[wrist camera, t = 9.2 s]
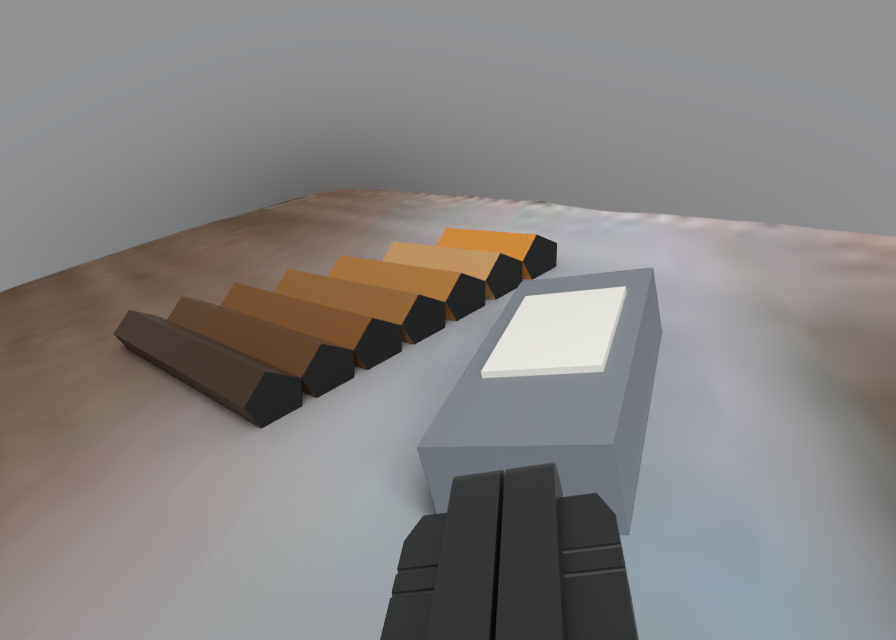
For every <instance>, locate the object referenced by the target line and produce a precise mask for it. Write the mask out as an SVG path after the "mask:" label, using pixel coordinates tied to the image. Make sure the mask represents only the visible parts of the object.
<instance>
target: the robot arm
mask: <svg viewBox="0 0 896 640" xmlns="http://www.w3.org/2000/svg"><path fill="white" fill-rule="evenodd" d="M397 570H398V574H396V577H395V581H394V585H393V589H392V598H390V602H389V606H388V610H387V614H386V618H385V622H384V627H383V631H382V635H381V639H380V640H639V639H638V633H637V627H636V622H635V616H634V610H633V604H632V599H631V593H630V588H629V583H628V577H627V572H626V567H625V561H624V556H623V551H622V545H621V540H620V535H619V529H618V524H617V519H616V514H615V513H614V512H613V511H612V509H611V508H610V507H609V506H608V505H607V504H606V503H605V502H604V500H603V499H602V498H601V497H600V496H599V495H598V494H597V493H590V494H582V495H575V496H567V497H563V492H562V488H561V483H560V479H559V474H558V470H557V466H556V464H555V462H553V463H546V464H539V465H532V466H525V467H518V468H511V469H506V470H505V473H504V471H503V470H498V471H491V472H484V473H477V474H470V475H463V476H456V477H454V478H453V480H452V485H451V491H450V497H449V503H448V509H447V513H440V514H433V515H425V516H423V517H422V518H421V519H420V521H419V522H418V523H417V525H416V526H415V527H414V529H413V530H412V531H411V533H410V534H409V535H408V537H407V538H406V539H405V541H404V543H403V548H402V552H401V556H400V560H399V564H398V568H397Z"/></svg>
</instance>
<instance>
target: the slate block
mask: <svg viewBox="0 0 896 640" xmlns="http://www.w3.org/2000/svg"><path fill="white" fill-rule="evenodd" d="M661 334H662V328H661V321H660V314H659V307H658V299H657V292H656V285H655V278H654V271H653V268H644V269H635V270H625V271H616V272H607V273H597V274H588V275H579V276H569V277H560V278H550V279H541V280H532V281H522V282H521V283H520V285H519V287H518V288H517V290H516V291H515V293H514V294H513V296H512V298H511V299H510V301H509V302H508V304H507V306H506V307H505V309H504V310H503V312H502V313H501V315H500V317H499V318H498V320H497V321H496V323H495V325H494V326H493V328H492V329H491V331H490V332H489V334H488V336H487V337H486V339H485V340H484V342H483V344H482V345H481V347H480V348H479V350H478V351H477V353H476V355H475V356H474V358H473V359H472V361H471V363H470V364H469V366H468V367H467V369H466V370H465V372H464V374H463V375H462V377H461V378H460V380H459V382H458V383H457V385H456V386H455V388H454V389H453V391H452V393H451V394H450V396H449V397H448V399H447V401H446V402H445V404H444V405H443V407H442V408H441V410H440V412H439V413H438V415H437V416H436V418H435V420H434V421H433V423H432V424H431V426H430V427H429V429H428V431H427V432H426V434H425V435H424V437H423V439H422V440H421V442H420V443H419V445H418V446H417V449H418V452H419V456H420V459H421V463H422V466H423V469H424V473H425V476H426V480H427V483H428V487H429V490H430V493H431V497H432V500H433V504H434V507H435V510H436V514H440V513H447V509H448V503H449V497H450V491H451V485H452V480H453V478H454V477H456V476H463V475H470V474H477V473H484V472H491V471H498V470H503V471H504V473H505V470H506V469H511V468H518V467H525V466H532V465H539V464H546V463H553V462H555V464H556V466H557V470H558V474H559V479H560V483H561V488H562V492H563V497H567V496H575V495H582V494H590V493H597V494H598V495H599V496H600V497H601V498H602V499H603V500H604V502H605V503H606V504H607V505H608V506H609V507H610V508H611V509H612V511H613V512H614V513H615V514H616V519H617V524H618V529H619V535H629V533H630V527H631V520H632V514H633V508H634V502H635V496H636V489H637V483H638V477H639V471H640V464H641V458H642V452H643V446H644V440H645V433H646V427H647V421H648V415H649V409H650V402H651V396H652V390H653V384H654V378H655V371H656V365H657V359H658V353H659V346H660V340H661Z"/></svg>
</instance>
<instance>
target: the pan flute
mask: <svg viewBox="0 0 896 640" xmlns="http://www.w3.org/2000/svg"><path fill="white" fill-rule="evenodd" d="M556 258H557V243H555V242H553V241H551V240H548V239H546V238H544V237H541V236H539V235H536V234H522V233H507V232H493V231H479V230H465V229H451V228H446V229H445V231H444V233H443V234H442V236H441V238H440V240H439V242H438V243H437V245H436V246H429V245H419V244H409V243H400V242H393V243H392V245H391V247H390V248H389V250H388V252H387V253H386V255H385V257H384V259H383V260H382V261H376V260H369V259H362V258H355V257H348V256H341V255H340V257H339V259H338V260H337V262H336V264H335V265H334V267H333V269H332V270H331V272H330V274H329V276H328V277H326V276H321V275H316V274H310V273H305V272H300V271H295V270H290V269H287V271H286V273H285V274H284V276H283V277H282V279H281V281H280V282H279V284H278V286H277V287H276V289H275V291H274V292H269V291H265V290H261V289H257V288H253V287H249V286H246V285H242V284H238V283H234V285H233V286H232V288H231V290H230V291H229V293H228V294H227V296H226V298H225V299H224V301H223V302H222V304H221V306H217V305H214V304H211V303H208V302H204V301H200V300H195V299H191V298H187V297H181V299H180V300H179V302H178V303H177V305H176V307H175V308H174V310H173V311H172V313H171V314H170V316H169V318H168V319H167V320H165V319H163V318H161V317H158V316H155V315H151V314H146V313H141V312H136V311H131V310H129V311H128V313H127V314H126V316H125V317H124V319H123V320H122V322H121V323H120V325H119V326H118V328H117V330H116V331H115V333H114V335H115V336H116V337H117V338H118V339H119V340H120V341H121V342H122V343H123V344H124V345H125V346H126V347H127V348H128V349H129V350H131V351H132V352H134V353H136V354H138V355H139V356H141V357H143V358H144V359H146V360H148V361H149V362H151V363H153V364H154V365H156V366H158V367H159V368H161V369H163V370H164V371H166V372H168V373H169V374H171V375H173V376H174V377H176V378H178V379H180V380H181V381H183V382H185V383H186V384H188V385H190V386H191V387H193V388H195V389H196V390H198V391H200V392H201V393H203V394H205V395H206V396H208V397H210V398H211V399H213V400H215V401H216V402H218V403H220V404H222V405H223V406H225V407H227V408H228V409H230V410H232V411H233V412H235V413H237V414H238V415H240V416H242V417H243V418H245V419H247V420H248V421H250V422H252V423H253V424H255V425H257V426H258V427H260V428H263V427H265V426H267V425H269V424H271V423H272V422H274V421H276V420H278V419H280V418H281V417H283V416H285V415H287V414H289V413H291V412H292V411H294V410H296V409H298V408H300V407H302V391H303V392H306V393H308V394H310V395H312V396H314V397H317V398H318V397H320V396H322V395H323V394H325V393H327V392H329V391H331V390H332V389H334V388H336V387H338V386H340V385H342V384H343V383H345V382H347V381H349V380H351V379H352V378H354V365H355V366H358V367H361V368H364V369H367V370H369V369H371V368H372V367H374V366H376V365H378V364H380V363H382V362H383V361H385V360H387V359H389V358H391V357H392V356H394V355H396V354H398V353H400V352H402V348H401V341H404V342H407V343H411V344H416V343H418V342H420V341H422V340H423V339H425V338H427V337H429V336H431V335H432V334H434V333H436V332H438V331H440V330H442V329H443V328H445V319H449V320H454V321H458V320H460V319H462V318H463V317H465V316H467V315H469V314H471V313H472V312H474V311H476V310H478V309H480V308H482V307H483V306H485V298H490V299H495V300H496V299H498V298H500V297H502V296H503V295H505V294H507V293H509V292H511V291H512V290H514V289H516V288H518V287H519V285H520V283H521V282H522V278H523V279H530V280H533V279H534V278H536V277H538V276H540V275H542V274H543V273H545V272H547V271H549V270H551V269H553V268H554V267H556Z"/></svg>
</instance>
